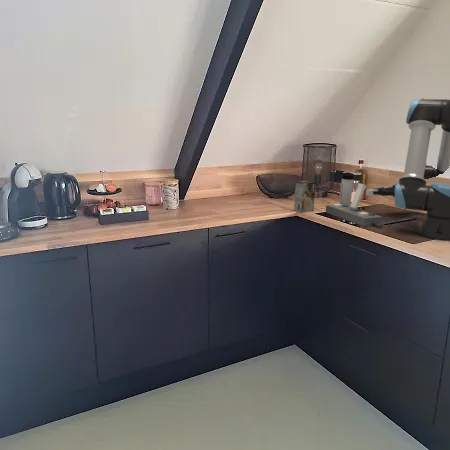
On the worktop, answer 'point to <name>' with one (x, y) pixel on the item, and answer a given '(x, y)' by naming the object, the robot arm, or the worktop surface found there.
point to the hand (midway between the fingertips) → (367, 192)
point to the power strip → (354, 215)
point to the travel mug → (346, 188)
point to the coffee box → (304, 196)
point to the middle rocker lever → (357, 196)
